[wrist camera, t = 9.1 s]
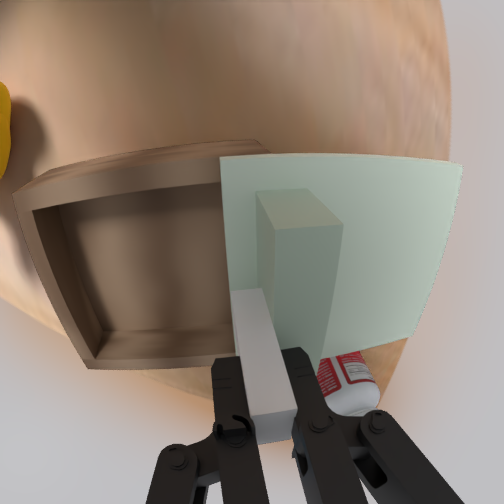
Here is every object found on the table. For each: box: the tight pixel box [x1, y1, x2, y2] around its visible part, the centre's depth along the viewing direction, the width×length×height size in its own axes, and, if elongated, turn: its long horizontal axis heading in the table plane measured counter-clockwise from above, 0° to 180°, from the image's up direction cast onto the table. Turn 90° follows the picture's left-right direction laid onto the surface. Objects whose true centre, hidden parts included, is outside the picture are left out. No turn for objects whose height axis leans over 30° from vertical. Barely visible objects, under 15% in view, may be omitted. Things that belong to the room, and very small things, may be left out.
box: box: [12, 140, 271, 370], centre depth 18 cm, size 14×14×5 cm
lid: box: [220, 153, 463, 376], centre depth 15 cm, size 14×14×5 cm
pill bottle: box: [316, 351, 380, 416], centre depth 23 cm, size 6×6×11 cm
